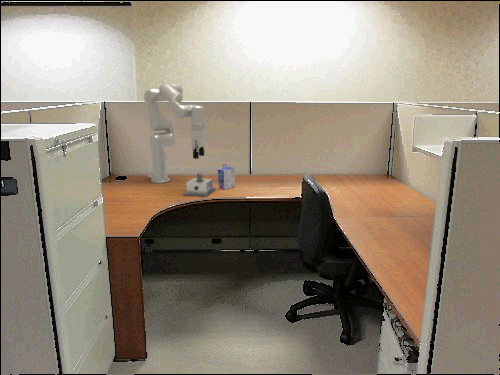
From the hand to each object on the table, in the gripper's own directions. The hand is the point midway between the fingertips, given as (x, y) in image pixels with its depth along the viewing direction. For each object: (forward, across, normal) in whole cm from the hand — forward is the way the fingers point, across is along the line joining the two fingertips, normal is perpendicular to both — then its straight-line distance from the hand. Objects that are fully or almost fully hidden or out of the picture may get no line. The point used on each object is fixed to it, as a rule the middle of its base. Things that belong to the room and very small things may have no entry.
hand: (198, 157), depth 256 cm
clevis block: (+21, 0, 0) cm, 21 cm away
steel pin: (+20, 0, 0) cm, 20 cm away
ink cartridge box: (+22, -15, +12) cm, 29 cm away
